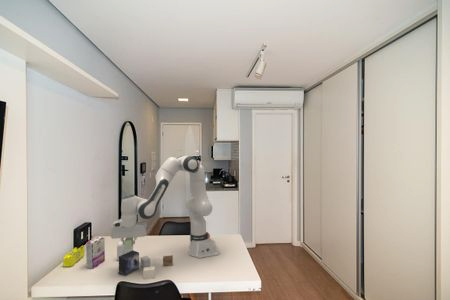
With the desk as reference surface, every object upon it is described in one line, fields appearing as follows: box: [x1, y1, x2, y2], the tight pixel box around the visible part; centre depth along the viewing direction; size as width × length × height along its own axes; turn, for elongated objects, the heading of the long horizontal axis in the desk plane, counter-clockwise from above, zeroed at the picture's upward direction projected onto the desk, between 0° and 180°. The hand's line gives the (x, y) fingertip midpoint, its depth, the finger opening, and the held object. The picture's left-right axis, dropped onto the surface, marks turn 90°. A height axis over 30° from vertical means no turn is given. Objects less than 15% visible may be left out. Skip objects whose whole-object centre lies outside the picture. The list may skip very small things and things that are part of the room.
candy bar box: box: [85, 235, 106, 270], centre depth 153 cm, size 11×5×16 cm, turn 170°
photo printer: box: [116, 240, 134, 262], centre depth 161 cm, size 10×4×12 cm, turn 123°
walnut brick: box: [162, 255, 174, 267], centre depth 153 cm, size 4×6×5 cm, turn 101°
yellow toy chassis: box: [62, 245, 85, 268], centre depth 157 cm, size 16×6×8 cm, turn 5°
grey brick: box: [140, 255, 151, 269], centre depth 151 cm, size 4×6×5 cm, turn 41°
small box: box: [117, 249, 140, 277], centre depth 144 cm, size 11×6×10 cm, turn 151°
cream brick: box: [142, 266, 156, 280], centre depth 138 cm, size 4×6×5 cm, turn 101°
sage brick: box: [124, 237, 134, 249], centre depth 144 cm, size 4×6×5 cm, turn 11°
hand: (128, 244), depth 144 cm, fingers closed on sage brick, 4 cm apart
